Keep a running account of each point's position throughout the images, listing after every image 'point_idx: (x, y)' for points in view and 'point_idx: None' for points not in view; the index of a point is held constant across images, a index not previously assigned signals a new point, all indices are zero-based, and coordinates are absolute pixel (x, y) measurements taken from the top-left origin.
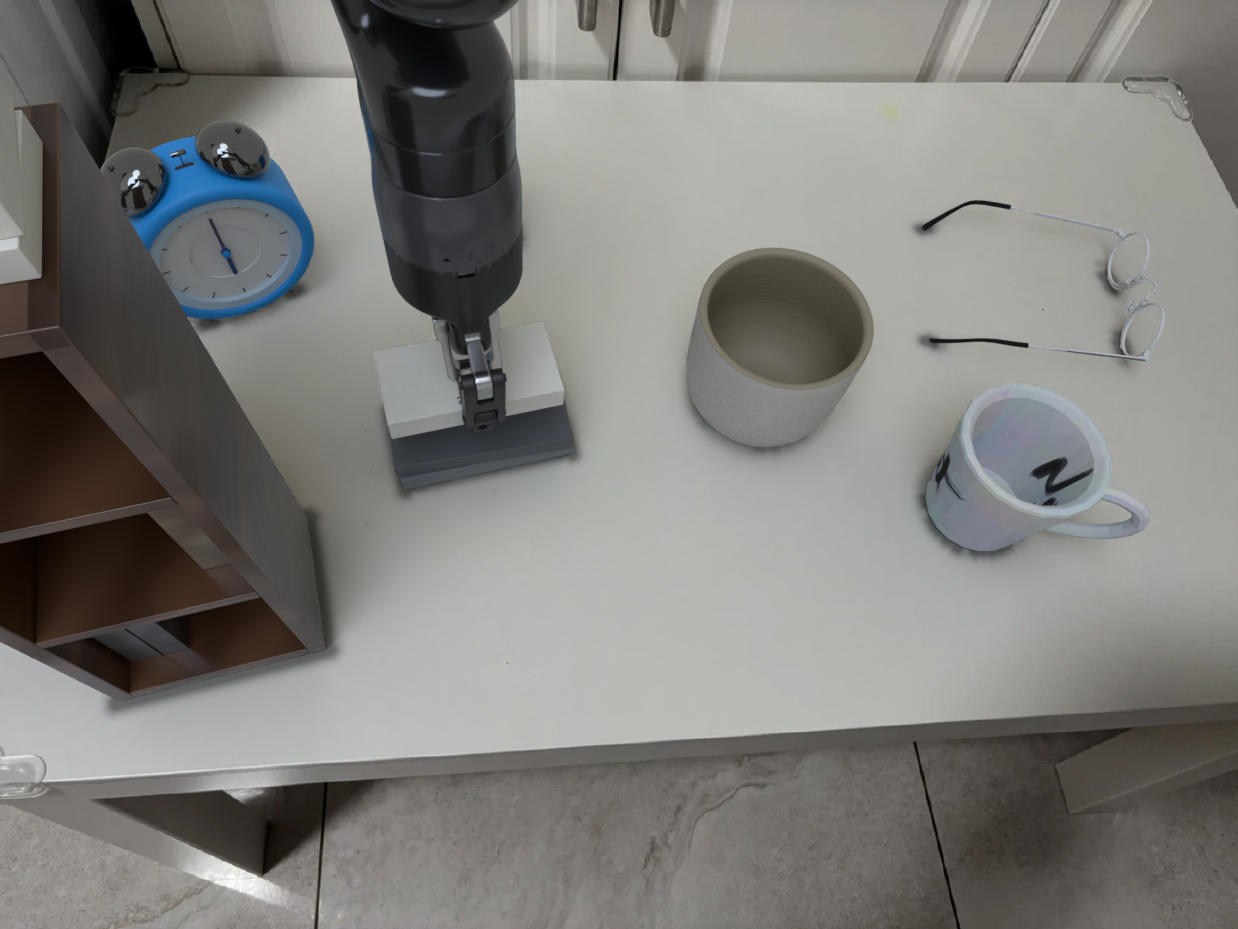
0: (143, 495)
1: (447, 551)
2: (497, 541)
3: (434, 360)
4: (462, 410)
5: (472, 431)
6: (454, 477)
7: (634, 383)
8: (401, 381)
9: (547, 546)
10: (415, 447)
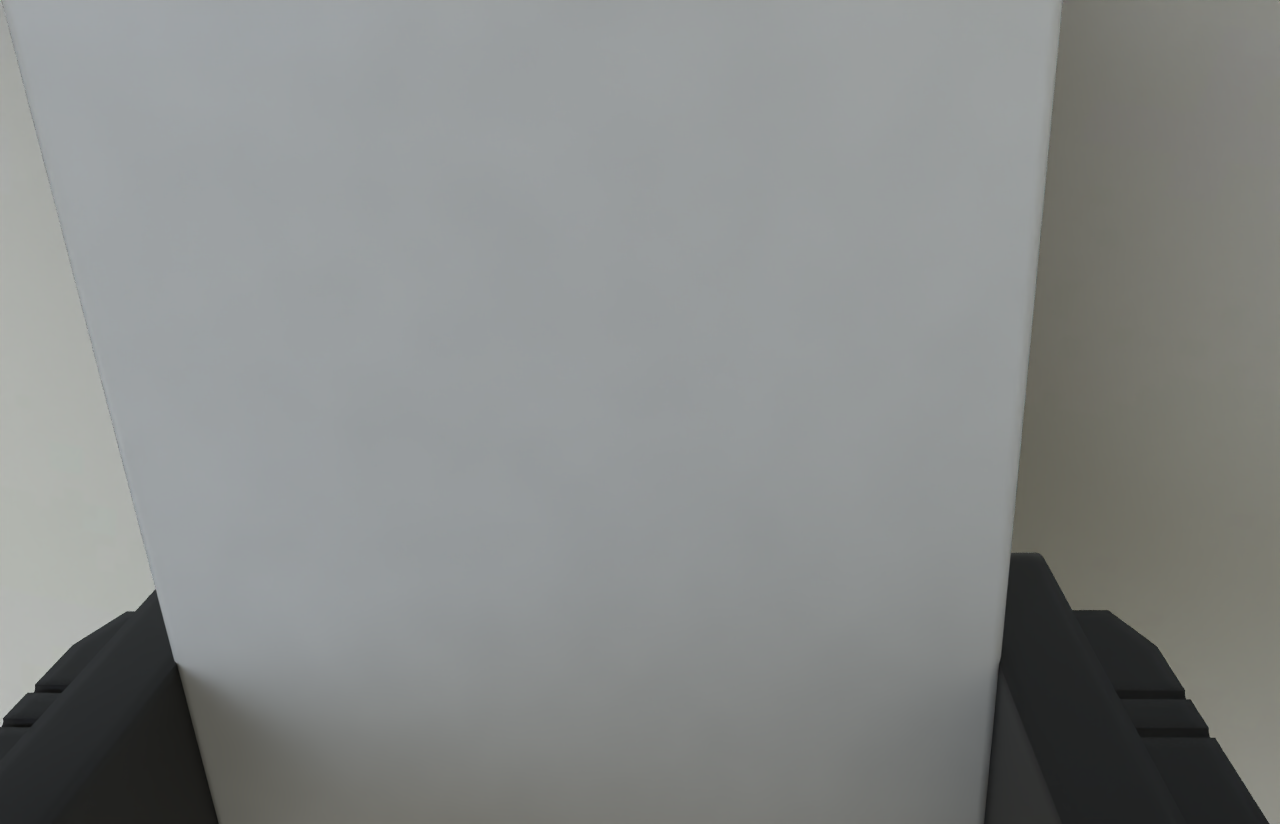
0: None
1: (6, 127)
2: (60, 366)
3: (755, 539)
4: (72, 715)
5: (95, 634)
6: None
7: None
8: (550, 175)
9: (39, 559)
10: None
